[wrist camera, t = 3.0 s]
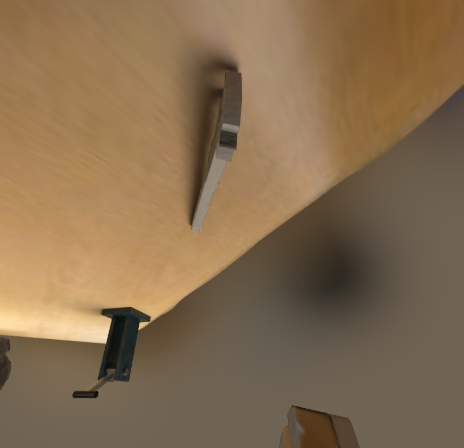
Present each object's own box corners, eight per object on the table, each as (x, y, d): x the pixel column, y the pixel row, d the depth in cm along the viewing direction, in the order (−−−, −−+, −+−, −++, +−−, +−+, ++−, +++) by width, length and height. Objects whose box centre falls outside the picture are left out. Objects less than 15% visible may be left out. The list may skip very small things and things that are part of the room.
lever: (71, 389, 54) (72, 402, 54) (93, 389, 53) (94, 402, 53) (109, 363, 65) (110, 374, 64) (128, 363, 63) (129, 374, 63)
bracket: (102, 309, 67) (84, 379, 59) (131, 307, 65) (116, 379, 57) (124, 318, 74) (110, 382, 66) (150, 316, 72) (140, 382, 64)
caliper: (225, 63, 18) (223, 126, 15) (241, 67, 18) (242, 130, 15) (191, 226, 35) (186, 273, 31) (199, 227, 35) (195, 274, 32)
